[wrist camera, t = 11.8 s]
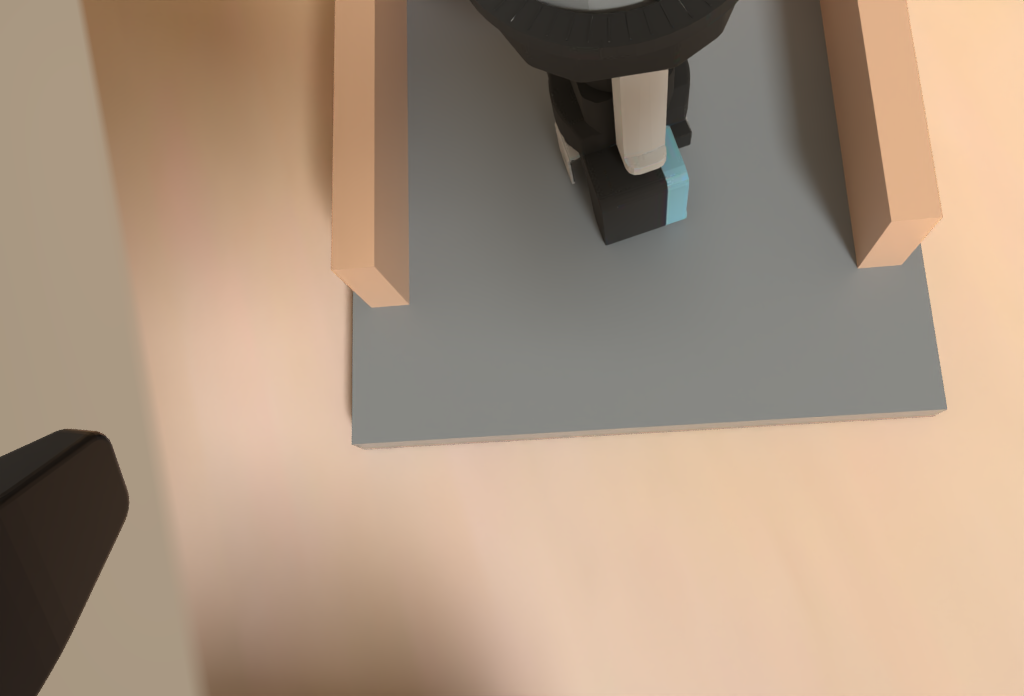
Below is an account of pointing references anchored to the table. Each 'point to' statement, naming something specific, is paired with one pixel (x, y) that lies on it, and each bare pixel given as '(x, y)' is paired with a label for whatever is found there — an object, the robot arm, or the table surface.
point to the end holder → (642, 258)
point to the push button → (618, 94)
